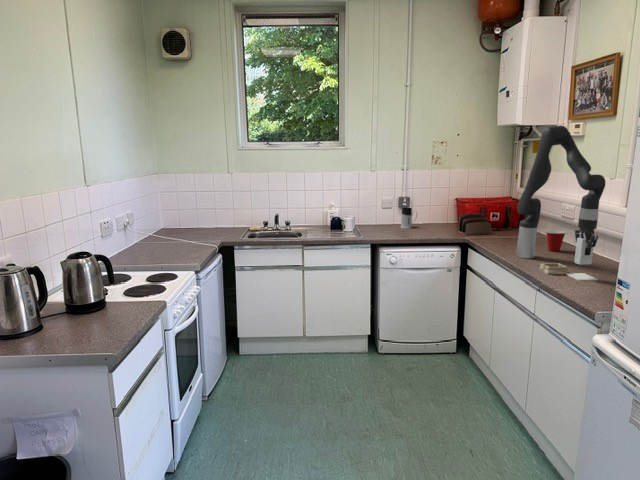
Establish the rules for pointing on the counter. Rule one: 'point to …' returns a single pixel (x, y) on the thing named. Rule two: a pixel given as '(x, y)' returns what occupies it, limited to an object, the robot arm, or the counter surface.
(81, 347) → the counter surface
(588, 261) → the skincare box
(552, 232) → the plastic cup
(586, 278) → the pad
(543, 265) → the collar
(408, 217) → the tall grey mug
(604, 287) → the counter surface
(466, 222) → the letter holder
